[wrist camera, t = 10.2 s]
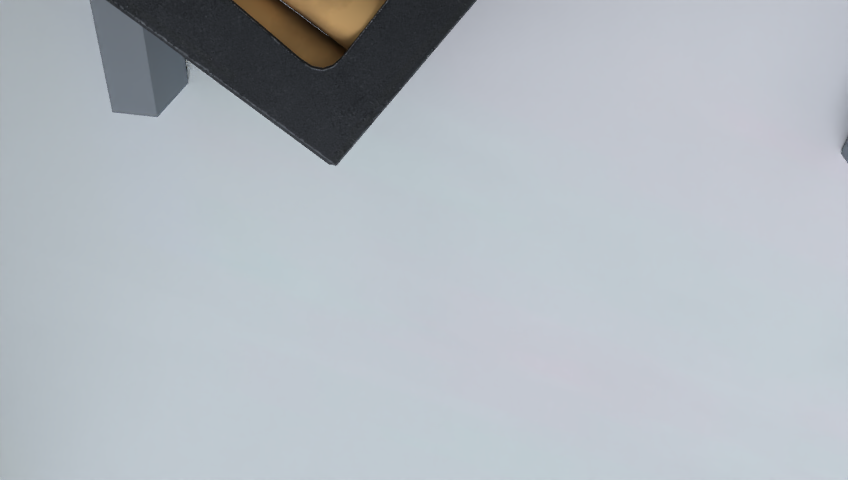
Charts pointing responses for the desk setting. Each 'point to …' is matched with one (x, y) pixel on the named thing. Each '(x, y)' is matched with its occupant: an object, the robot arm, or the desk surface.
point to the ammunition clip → (305, 56)
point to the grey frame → (145, 64)
